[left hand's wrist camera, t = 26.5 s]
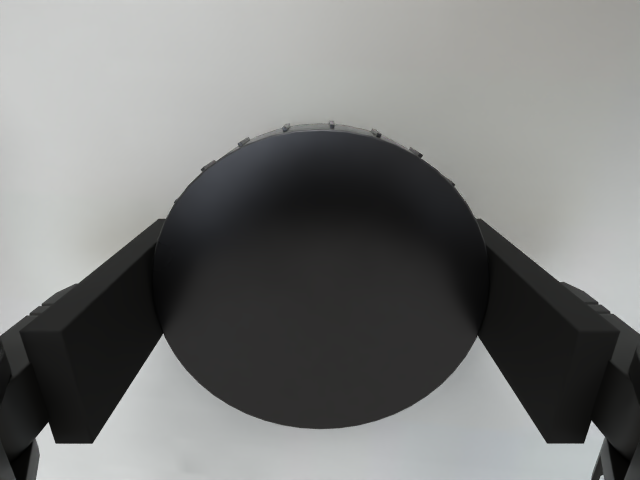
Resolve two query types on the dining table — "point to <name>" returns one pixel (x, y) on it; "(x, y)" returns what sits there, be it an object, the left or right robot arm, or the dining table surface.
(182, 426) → the dining table surface
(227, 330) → the lid
